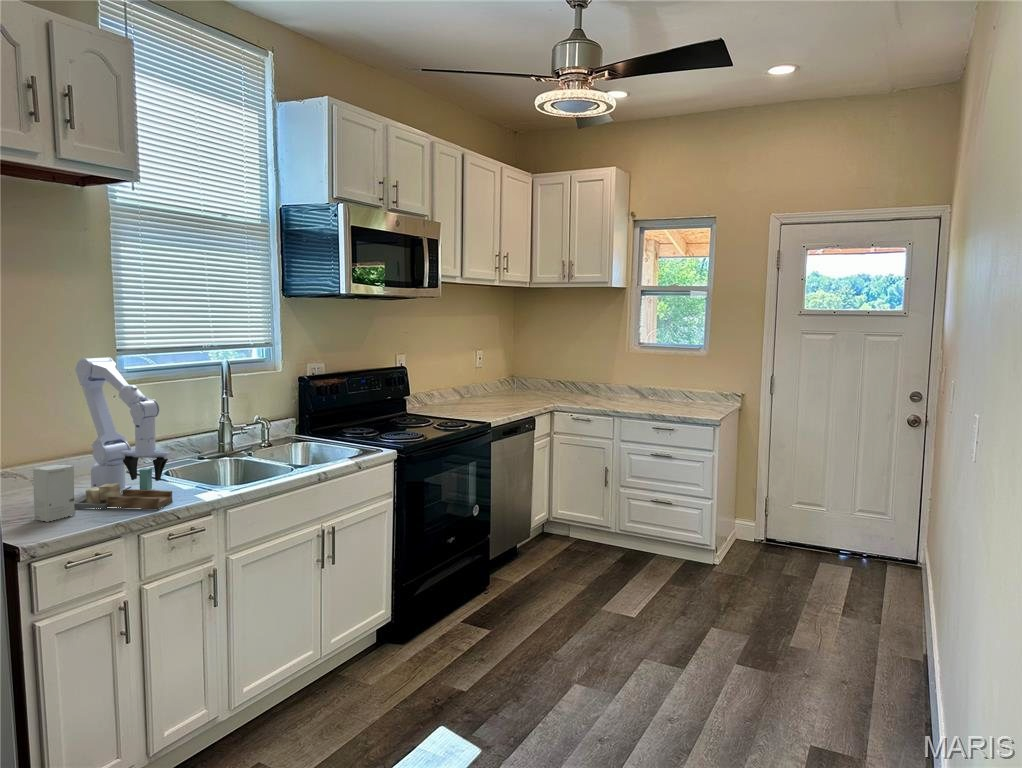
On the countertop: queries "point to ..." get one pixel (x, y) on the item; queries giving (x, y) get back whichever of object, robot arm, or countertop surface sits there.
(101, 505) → the chip tray
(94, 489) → the block
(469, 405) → the countertop surface
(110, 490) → the block
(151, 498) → the slot board
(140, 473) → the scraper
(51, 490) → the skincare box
